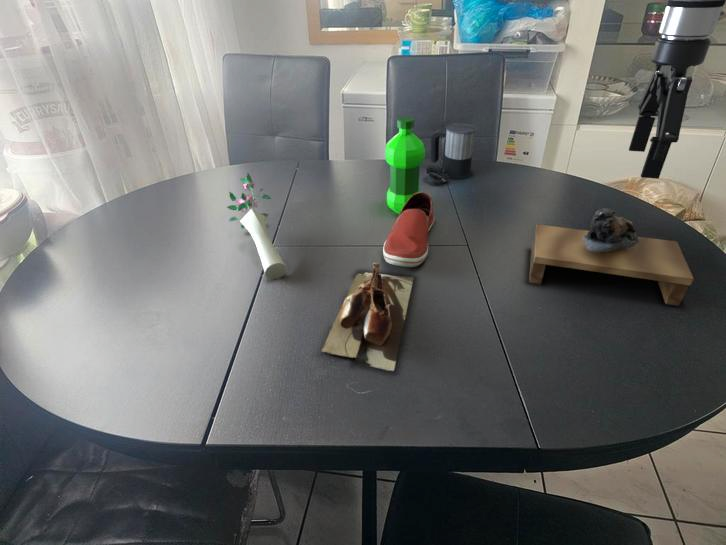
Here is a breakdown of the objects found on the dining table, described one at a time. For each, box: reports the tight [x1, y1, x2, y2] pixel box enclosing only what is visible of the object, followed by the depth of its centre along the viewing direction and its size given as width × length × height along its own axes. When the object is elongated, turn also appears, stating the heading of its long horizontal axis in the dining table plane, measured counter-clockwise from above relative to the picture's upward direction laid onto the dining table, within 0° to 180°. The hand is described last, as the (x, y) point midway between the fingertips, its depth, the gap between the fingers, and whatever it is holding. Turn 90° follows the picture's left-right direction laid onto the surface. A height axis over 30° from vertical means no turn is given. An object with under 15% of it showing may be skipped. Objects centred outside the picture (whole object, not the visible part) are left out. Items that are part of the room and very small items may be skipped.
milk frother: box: [424, 122, 477, 185], centre depth 138 cm, size 14×16×15 cm
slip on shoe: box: [382, 191, 435, 268], centre depth 107 cm, size 11×29×9 cm, turn 162°
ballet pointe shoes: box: [321, 262, 414, 372], centre depth 86 cm, size 14×7×28 cm
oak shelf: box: [528, 224, 695, 307], centre depth 94 cm, size 28×14×7 cm, turn 71°
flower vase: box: [226, 172, 287, 280], centre depth 110 cm, size 12×12×35 cm
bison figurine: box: [583, 207, 640, 252], centre depth 89 cm, size 12×7×10 cm, turn 116°
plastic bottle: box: [384, 116, 426, 215], centre depth 117 cm, size 10×10×25 cm
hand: (642, 163), depth 84 cm, fingers open, 13 cm apart
